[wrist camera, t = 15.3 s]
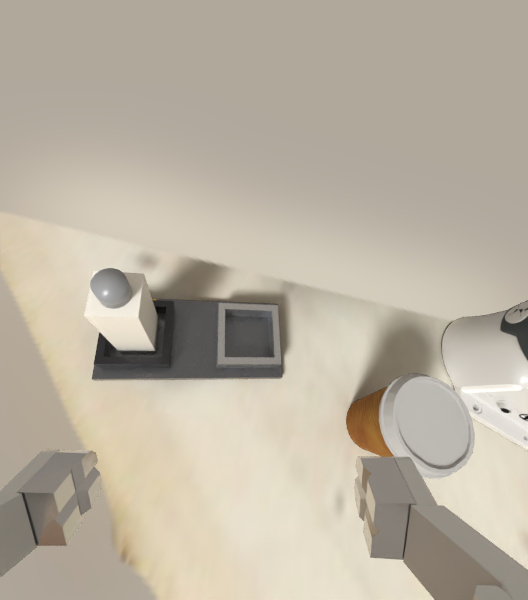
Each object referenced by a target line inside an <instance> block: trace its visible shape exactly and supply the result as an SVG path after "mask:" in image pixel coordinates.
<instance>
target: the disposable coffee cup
mask: <svg viewBox="0 0 528 600" xmlns="http://www.w3.org/2000/svg"><path fill="white" fill-rule="evenodd" d="M346 424H347V429H348V432H349V435H350V437H351V438H352V440H353V441H354V442H355V443H356V444H357V445H358V446H359V447H361V448H362V449H364V450H367V451H370V452H372V453H375V454H377V455H380V456H382V457H410V458H411V459H412V460H413V462H414V464H415V465H416V467H417V469H418V471H419V473H420V474H421V476H423V477H427V478H443V477H446V476H448V475H450V474H452V473H453V472H457V471H458V470H459V469H461V468H462V467H463V466H464V465H466V463H467V461H468V460H469V458H470V456H471V455H472V451H473V447H474V436H475V435H474V429H473V423H472V418H471V416H470V413H469V411H468V409H467V407H466V405H465V403H464V402H463V400H462V399H461V397H460V396H459V395H458V394H457V393H456V392H455V391H454V390H453V389H452V388H451V387H450V386H449V385H447V384H446V383H444V382H442V381H440V380H438V379H436V378H432V377H429V376H427V375H423V374H417V373H413V374H406V375H403V376H401V377H399V378H397V379H395V380H394V381H393V382H392V383H391V384H390V385H389V386H387V387H385V388H383V389H381V390H379V391H377V392H375V393H373V394H371V395H369V396H366V397H364V398H362V399H360V400H357V401H356V402H354V403H353V404H352V405H351V407H350V408H349V410H348V413H347V418H346Z"/></svg>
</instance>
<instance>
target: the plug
mask: <svg viewBox="0 0 528 600" xmlns="http://www.w3.org/2000/svg"><path fill="white" fill-rule="evenodd" d="M84 316H85V317H86V319H87V320H88V321H89V322H90V323H91V324H92V325H93V326H94V327H95V328H96V329H97V330H98V331H99V332H100V333H101V334H102V335H103V336H104V337H105V338H106V339H107V340H108V341H109V342H110V343H111V344H112V345H113V346H114V347H115V348H116V349H117V350H118V351H119V352H120V353H156V352H157V342H158V332H159V319H158V315H157V312H156V309H155V306H154V303H153V300H152V297H151V294H150V291H149V288H148V285H147V282H146V279H145V276H144V274H139V273H123V272H121V271H120V270H117V269H113V268H108V269H103V270H101V271H93V274H92V279H91V283H90V289H89V294H88V299H87V304H86V309H85V314H84Z"/></svg>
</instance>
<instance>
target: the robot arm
mask: <svg viewBox="0 0 528 600" xmlns="http://www.w3.org/2000/svg"><path fill="white" fill-rule="evenodd" d="M442 355H443V360H444V364H445V367H446V369H447V372H448V374H449V376H450V378H451V380H452V383H453V385H454V390H455V392H456V393H457V394H458V395H459V396H460V397H461V399H462V400H463V402H464V403H465V405H466V407H467V409H468V411H469V413H470V416H471V417H472V418H474V419H475V420H477V421H479V422H480V423H482V424H484V425H485V426H487V427H489V428H490V429H492V430H494V431H495V432H497V433H499V434H500V435H502V436H504V437H505V438H507V439H509V440H511V441H512V442H514V443H516V444H517V445H519V446H521V447H522V448H524V449H526V450H527V451H528V301H525V302H523V303H520V304H518V305H516V306H514V307H512V308H510V309H509V310H505V311H502V312H497V313H493V314H489V315H482V316H474V317H462V318H459V319H457V320H455V321H453V322H452V323H451V324H450V325H449V326H448V327H447V329H446V331H445V333H444V336H443V341H442ZM473 407H474V408H473ZM97 462H98V459H97V455H96V452H93V451H84V450H56V449H55V450H54V449H46V450H44V451H42V452H40V453H39V454H38V455H37V456H36V457H35V458H34V459H33V460H32V461H31V462H30V463H29V464H28V465H27V466H26V467H25V468H24V469H23V470H22V471H21V472H20V473H18V475H16V476H15V477H14V478H13V479H12V480H11V481H10V482H9V483H8V484H7V485H6V486H5V487H4V488H3V489H2V490H1V491H0V577H1V576H3V575H4V574H5V573H6V572H8V571H9V570H10V569H11V568H12V567H14V566H15V565H16V564H17V563H19V562H20V561H21V560H22V559H23V558H25V557H26V556H27V555H28V554H29V553H31V552H32V551H33V550H34V549H35V548H36V547H37V546H67V545H68V543H69V541H70V540H71V538H72V537H73V535H74V534H75V532H76V531H77V529H78V528H79V526H80V525H81V523H82V514H84V513H85V512H87V511H88V510H89V509H91V508H92V506H93V505H94V503H95V501H96V500H97V498H98V495H99V492H100V489H101V475H100V472H99V471H98V470H97V469H96V468H95V465H96V464H97ZM356 469H357V472H358V477H357V478H356V479H355V500H356V505H357V510H358V514H359V517H360V518H361V519H362V520H363V521H364V530H363V533H364V536H365V540H366V543H367V547H368V551H369V554H370V557H371V558H385V559H399V560H404V561H403V562H404V563H405V564H406V565H407V567H408V568H409V569H410V570H411V571H412V573H413V574H414V575H415V576H416V578H417V579H418V580H419V581H420V582H421V584H422V585H423V586H424V587H425V588H426V590H427V591H428V592H429V593H430V594H431V596H432V597H433V598H434V599H435V600H528V570H527V569H526V568H524V567H523V566H522V565H520V564H519V563H518V562H517V561H515V560H514V559H513V558H511V557H510V556H509V555H507V554H506V553H505V552H503V551H502V550H501V549H500V548H498V547H497V546H496V545H494V544H493V543H492V542H490V541H489V540H488V539H486V538H485V537H484V536H483V535H481V534H480V533H479V532H477V531H476V530H475V529H473V528H472V527H471V526H469V525H468V524H467V523H466V522H464V521H463V520H462V519H460V518H459V517H458V516H456V515H455V514H454V513H452V512H451V511H450V510H448V509H447V508H446V507H445V506H438V505H437V503H436V501H435V499H434V498H433V496H432V494H431V492H430V490H429V489H428V487H427V485H426V483H425V481H424V480H423V478H422V476H421V474H420V473H419V471H418V469H417V467H416V465H415V464H414V462H413V460H412V459H411V458H410V457H366V456H358V457H357V461H356Z"/></svg>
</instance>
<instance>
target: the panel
mask: <svg viewBox="0 0 528 600" xmlns="http://www.w3.org/2000/svg"><path fill="white" fill-rule="evenodd" d="M152 300H153V303H154V306H155V309H156V312H157V315H158V319H159V332H158V342H157V352H156V353H120V352H119V351H118V350H117V349H116V348H115V347H114V346H113V345H112V344H111V343H110V342H109V341H108V340H107V339H106V338H105V337H104V336H103V335H102V334H101V333H100V332H99V338H98V344H97V349H96V355H95V361H94V370H93V376H92V379H93V380H190V379H280V378H282V365H281V348H280V332H279V315H278V304H265V303H242V302H218V301H195V300H172V299H152Z"/></svg>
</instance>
